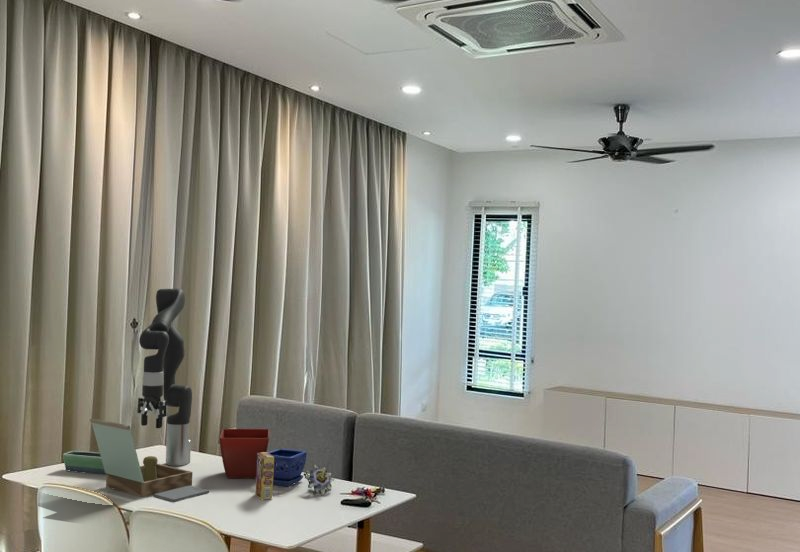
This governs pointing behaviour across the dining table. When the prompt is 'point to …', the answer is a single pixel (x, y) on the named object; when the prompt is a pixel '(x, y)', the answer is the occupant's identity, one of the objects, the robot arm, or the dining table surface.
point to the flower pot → (288, 466)
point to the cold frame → (152, 481)
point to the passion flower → (319, 479)
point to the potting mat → (181, 493)
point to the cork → (149, 468)
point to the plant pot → (242, 451)
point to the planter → (84, 462)
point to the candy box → (264, 475)
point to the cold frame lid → (117, 449)
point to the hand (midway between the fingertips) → (151, 426)
